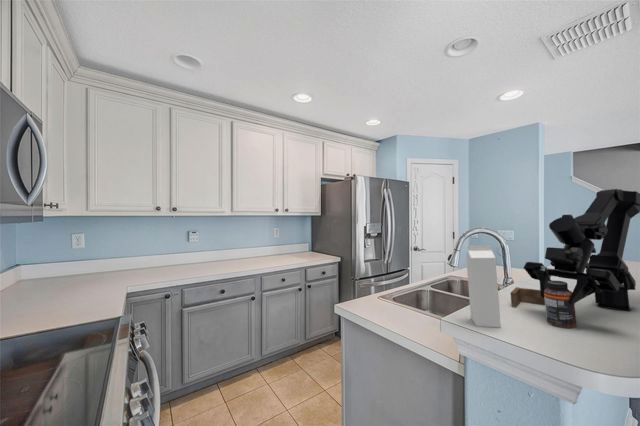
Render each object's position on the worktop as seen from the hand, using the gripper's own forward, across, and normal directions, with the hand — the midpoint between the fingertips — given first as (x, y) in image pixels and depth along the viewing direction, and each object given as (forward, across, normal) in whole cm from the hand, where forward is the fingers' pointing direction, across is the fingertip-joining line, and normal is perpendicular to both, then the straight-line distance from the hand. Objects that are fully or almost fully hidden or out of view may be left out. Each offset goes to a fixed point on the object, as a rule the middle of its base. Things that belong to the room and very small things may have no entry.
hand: (555, 300), depth 69 cm
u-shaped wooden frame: (-2, -11, +12) cm, 16 cm away
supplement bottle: (+4, 0, +6) cm, 7 cm away
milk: (+15, -10, -5) cm, 19 cm away
